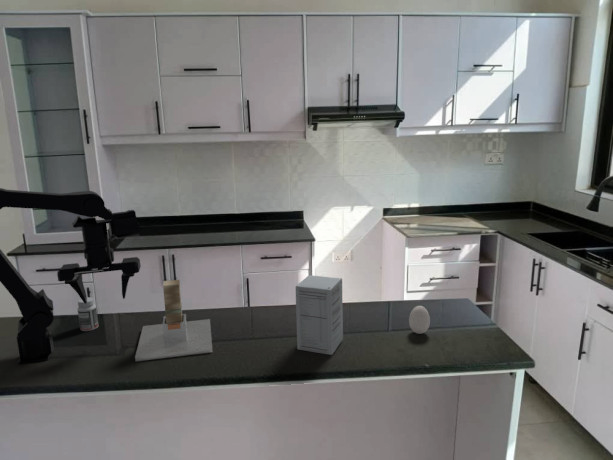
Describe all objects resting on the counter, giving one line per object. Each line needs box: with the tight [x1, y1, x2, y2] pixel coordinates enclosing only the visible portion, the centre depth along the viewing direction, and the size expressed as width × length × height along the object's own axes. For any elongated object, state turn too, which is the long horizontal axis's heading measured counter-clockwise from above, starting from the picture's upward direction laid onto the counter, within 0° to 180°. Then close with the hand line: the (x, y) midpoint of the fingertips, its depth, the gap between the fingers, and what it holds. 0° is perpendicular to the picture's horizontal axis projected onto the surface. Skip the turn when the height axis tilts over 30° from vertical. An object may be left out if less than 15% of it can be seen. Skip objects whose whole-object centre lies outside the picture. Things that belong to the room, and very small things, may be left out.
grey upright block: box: [295, 274, 344, 356], centre depth 115 cm, size 10×9×17 cm
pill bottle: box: [77, 296, 99, 332], centre depth 128 cm, size 5×5×8 cm
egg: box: [408, 305, 431, 335], centre depth 122 cm, size 5×5×8 cm
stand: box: [134, 313, 214, 362], centre depth 120 cm, size 18×18×6 cm
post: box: [162, 279, 183, 323], centre depth 118 cm, size 4×4×10 cm
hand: (105, 300), depth 119 cm, fingers open, 9 cm apart
